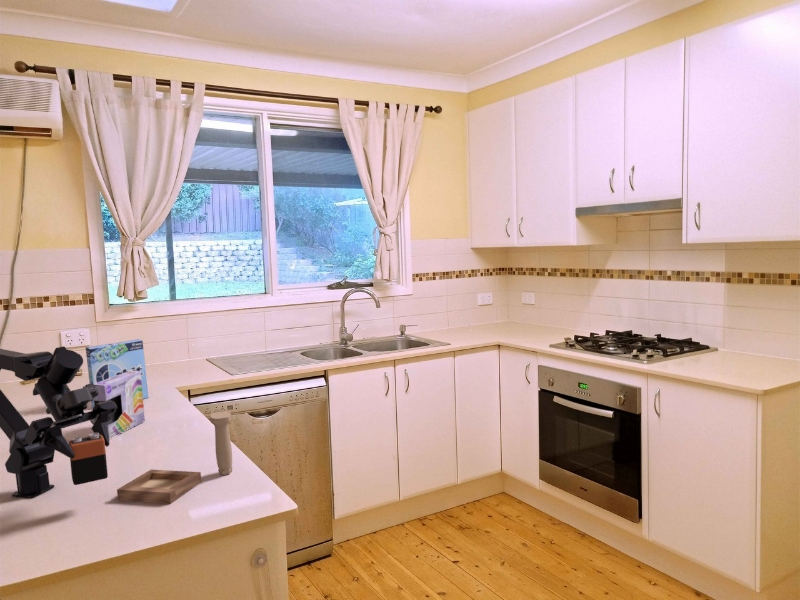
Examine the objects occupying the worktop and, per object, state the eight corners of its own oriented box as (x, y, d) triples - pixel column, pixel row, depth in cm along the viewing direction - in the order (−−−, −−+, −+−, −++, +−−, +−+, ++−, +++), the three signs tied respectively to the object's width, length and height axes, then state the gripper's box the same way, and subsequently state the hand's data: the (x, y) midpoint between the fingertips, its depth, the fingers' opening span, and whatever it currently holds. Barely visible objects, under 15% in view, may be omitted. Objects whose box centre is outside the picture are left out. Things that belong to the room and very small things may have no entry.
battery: (108, 478, 134) (104, 434, 133) (73, 486, 130) (69, 441, 129) (105, 472, 137) (101, 430, 136) (71, 480, 134) (67, 436, 133)
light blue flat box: (144, 396, 237) (138, 338, 234) (149, 398, 233) (143, 340, 231) (91, 407, 223) (84, 347, 221) (95, 410, 220) (89, 348, 217)
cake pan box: (108, 441, 182) (102, 384, 180) (93, 441, 183) (87, 384, 181) (147, 422, 201) (141, 370, 199) (133, 421, 202) (128, 370, 200)
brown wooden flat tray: (118, 499, 138) (116, 489, 138) (152, 479, 150) (151, 469, 149) (170, 503, 134) (169, 492, 134) (201, 482, 146) (200, 472, 146)
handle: (233, 467, 155) (228, 410, 153) (237, 475, 149) (232, 416, 147) (214, 470, 153) (209, 413, 151) (217, 479, 147) (211, 419, 146)
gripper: (25, 384, 125) (60, 443, 121) (108, 366, 141) (142, 417, 137) (10, 416, 130) (43, 474, 126) (92, 395, 146) (124, 446, 142)
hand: (91, 451), depth 132 cm, fingers closed on battery, 8 cm apart
